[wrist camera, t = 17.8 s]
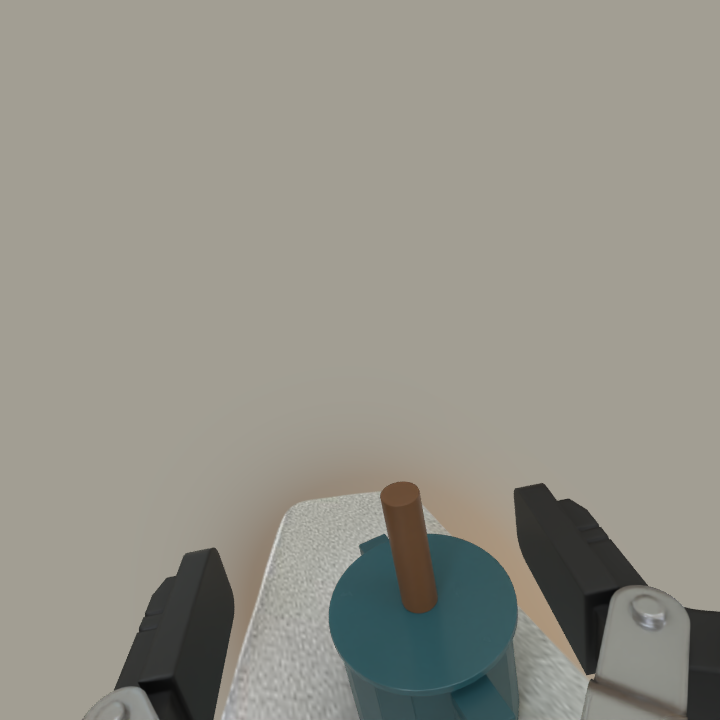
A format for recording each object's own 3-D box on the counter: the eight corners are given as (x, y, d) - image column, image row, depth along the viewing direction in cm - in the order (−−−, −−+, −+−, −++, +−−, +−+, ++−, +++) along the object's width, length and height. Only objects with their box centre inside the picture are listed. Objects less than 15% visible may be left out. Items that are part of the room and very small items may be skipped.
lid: (376, 748, 26) (339, 612, 22) (309, 588, 37) (278, 481, 33) (562, 639, 29) (555, 508, 26) (451, 523, 40) (436, 421, 37)
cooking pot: (426, 885, 27) (398, 777, 24) (329, 646, 42) (304, 560, 39) (586, 773, 30) (582, 665, 27) (444, 589, 45) (430, 505, 42)
